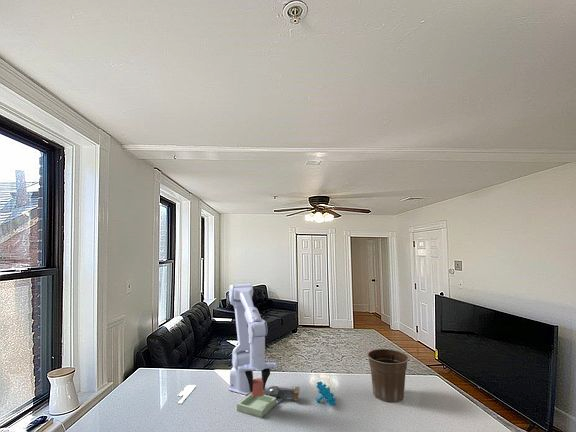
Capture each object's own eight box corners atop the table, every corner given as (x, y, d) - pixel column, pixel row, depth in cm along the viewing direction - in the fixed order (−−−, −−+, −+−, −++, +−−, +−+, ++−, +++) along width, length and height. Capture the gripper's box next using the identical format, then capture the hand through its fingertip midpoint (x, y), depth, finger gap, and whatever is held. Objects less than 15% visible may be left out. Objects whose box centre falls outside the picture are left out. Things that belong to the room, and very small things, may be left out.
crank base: (263, 400, 134) (263, 398, 134) (275, 389, 143) (275, 388, 143) (277, 404, 131) (277, 402, 131) (288, 393, 140) (288, 391, 140)
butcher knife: (169, 404, 131) (169, 401, 131) (185, 387, 146) (185, 384, 146) (181, 405, 131) (181, 402, 131) (196, 387, 145) (196, 384, 145)
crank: (267, 399, 133) (267, 391, 133) (269, 393, 138) (269, 385, 138) (297, 401, 132) (298, 393, 132) (299, 395, 137) (299, 387, 137)
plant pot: (385, 409, 128) (385, 365, 128) (359, 390, 142) (359, 351, 143) (417, 400, 134) (417, 359, 135) (390, 383, 149) (389, 346, 150)
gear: (333, 407, 126) (316, 384, 129) (322, 417, 126) (305, 394, 130) (339, 397, 136) (323, 376, 140) (329, 407, 137) (313, 385, 140)
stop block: (252, 397, 126) (253, 383, 126) (250, 392, 130) (251, 379, 130) (263, 395, 127) (263, 382, 127) (261, 391, 131) (261, 377, 131)
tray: (236, 410, 126) (236, 403, 126) (252, 398, 136) (252, 391, 136) (261, 418, 121) (261, 411, 121) (276, 404, 131) (276, 397, 131)
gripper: (240, 359, 123) (239, 397, 123) (278, 355, 128) (278, 391, 127) (237, 352, 130) (236, 388, 129) (273, 348, 134) (273, 383, 134)
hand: (257, 389), depth 129 cm, fingers closed on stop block, 4 cm apart
